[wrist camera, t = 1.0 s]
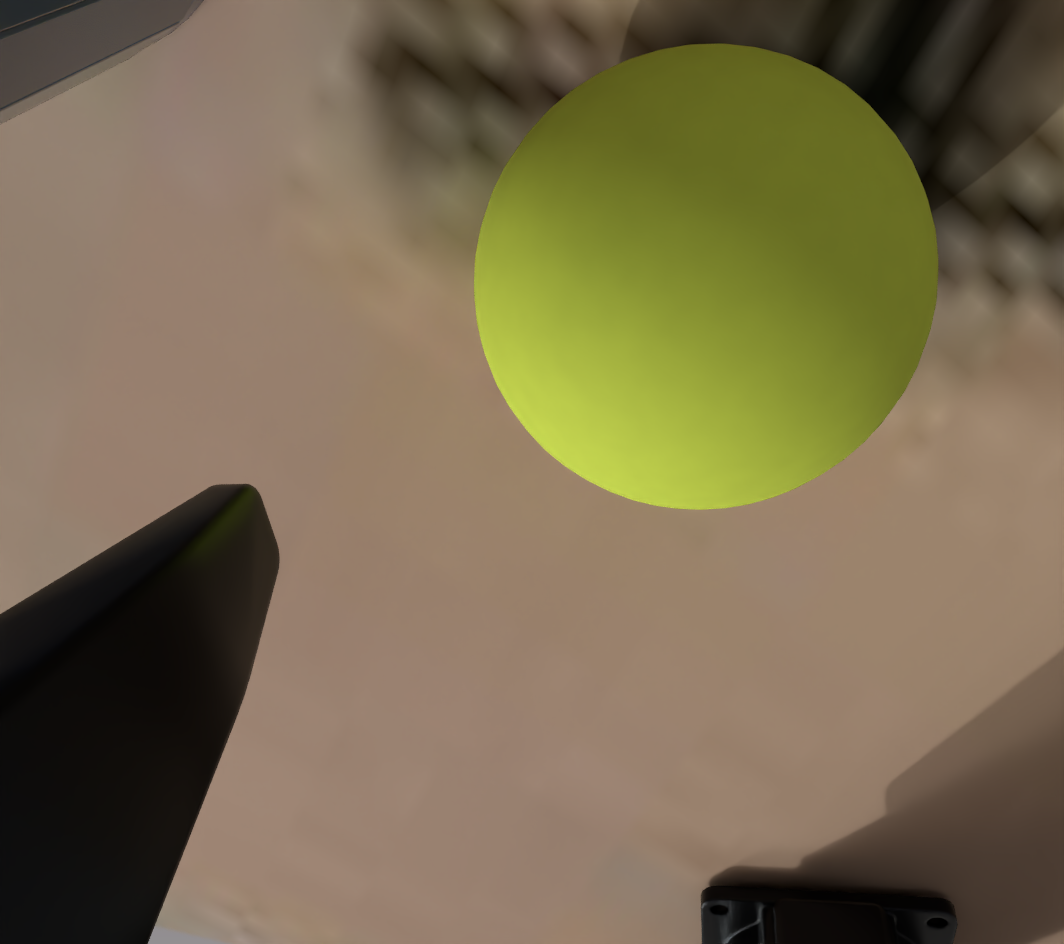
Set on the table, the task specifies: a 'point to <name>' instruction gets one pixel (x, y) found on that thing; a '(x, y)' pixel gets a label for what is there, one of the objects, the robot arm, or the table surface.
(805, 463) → the ball
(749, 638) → the table surface
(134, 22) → the tumbler
